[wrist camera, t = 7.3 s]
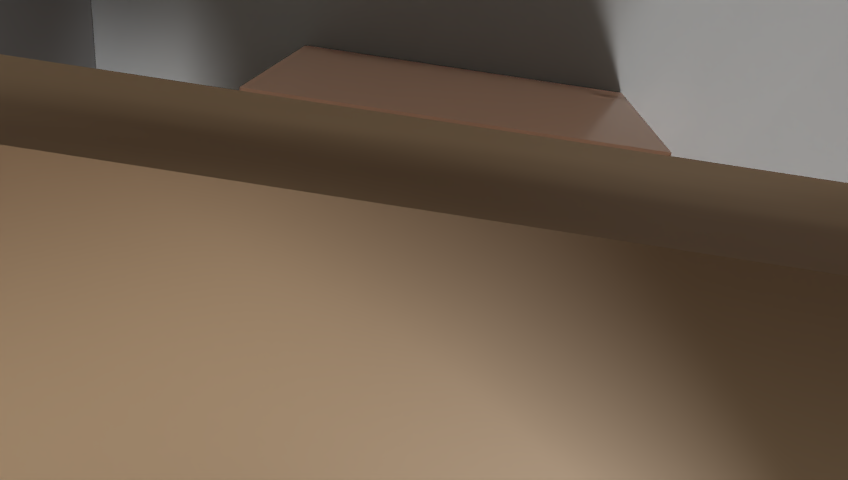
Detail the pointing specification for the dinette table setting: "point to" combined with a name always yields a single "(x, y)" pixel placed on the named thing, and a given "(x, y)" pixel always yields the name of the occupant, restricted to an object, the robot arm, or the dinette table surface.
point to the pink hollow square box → (459, 97)
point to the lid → (398, 297)
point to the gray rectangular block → (48, 31)
